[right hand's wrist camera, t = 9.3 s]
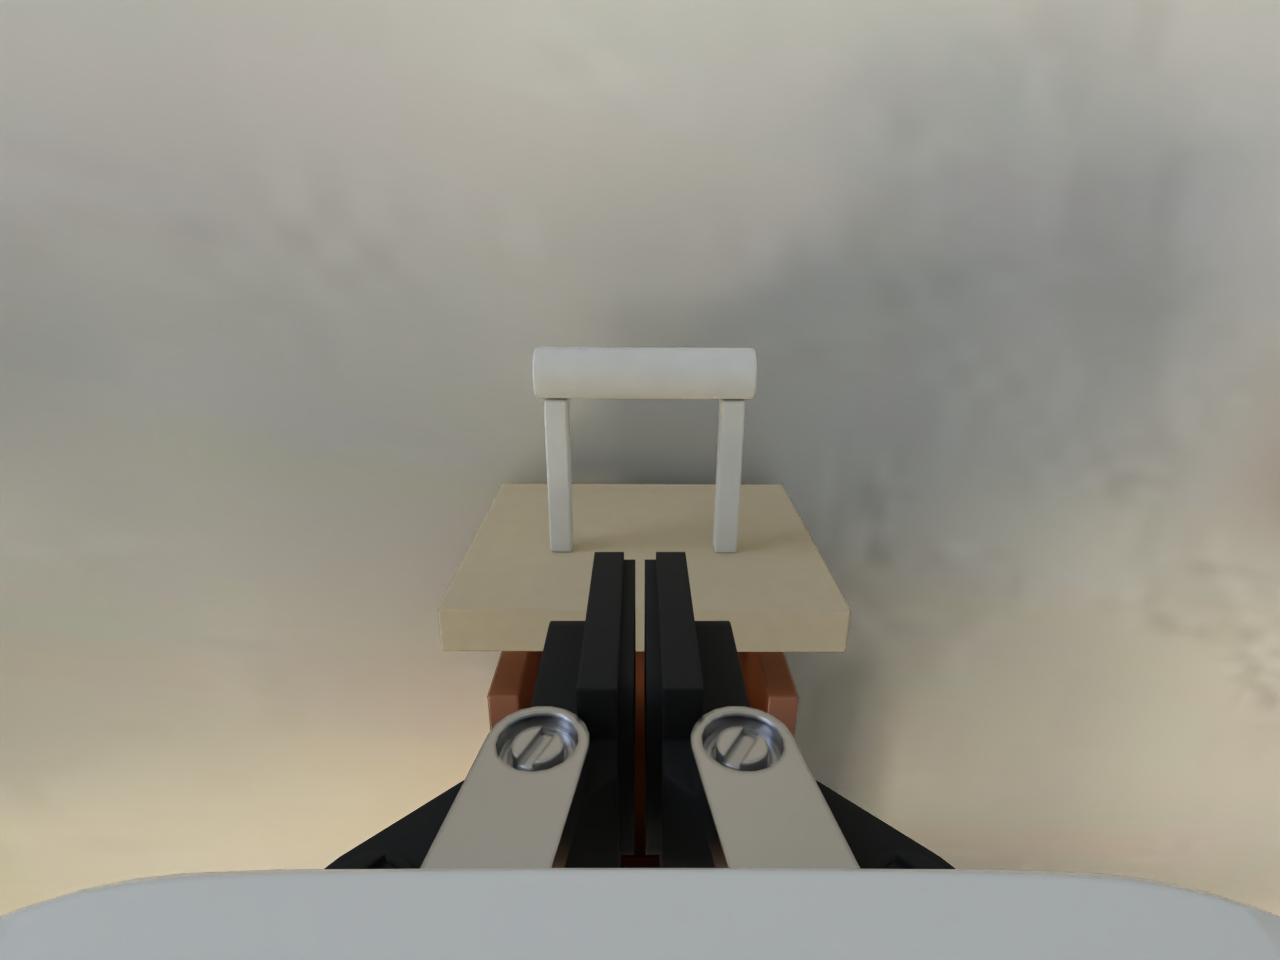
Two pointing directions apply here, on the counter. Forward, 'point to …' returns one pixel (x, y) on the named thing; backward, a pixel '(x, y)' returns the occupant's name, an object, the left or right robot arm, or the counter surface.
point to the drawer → (644, 544)
